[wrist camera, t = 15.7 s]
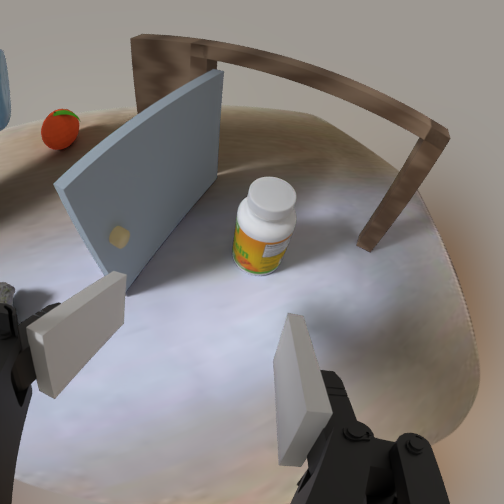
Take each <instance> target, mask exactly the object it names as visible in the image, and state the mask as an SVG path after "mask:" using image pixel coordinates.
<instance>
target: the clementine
mask: <svg viewBox="0 0 504 504" xmlns="http://www.w3.org/2000/svg"><path fill="white" fill-rule="evenodd" d="M78 120H79V121H80V119H79V118H78V116H76V115H75V114H74V113H73V112H72V111H70V110H68V109H58V110H55V111H53V112H52V113H50V114H49V115H48V116H47V118H46V119H45V120H44V122H43V125H42V128H41V135H42V140H43V142H44V143H45V144H46V145H47V146H48V147H49V148H51V149H54V150H60V149H64V148H66V147H68V146H70V145H71V144H72V143H73V142H74V140H75V139H76V137H77V135H78V132H79V121H78ZM80 122H81V121H80Z"/></svg>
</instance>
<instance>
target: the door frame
mask: <svg viewBox="0 0 504 504" xmlns="http://www.w3.org/2000/svg"><path fill="white" fill-rule="evenodd" d="M131 53H132V65H133V77H134V87H135V96H136V104H137V112H138V114H139V113H141V112H142V111H143V110H145V109H146V108H148V107H149V106H151V105H152V104H154V103H156V102H157V101H159V100H160V99H162V98H163V97H165V96H167V95H168V94H170V93H172V92H173V91H175V90H176V89H178V88H180V87H182V86H183V85H185V84H187V83H188V82H190V81H192V80H194V79H196V78H197V77H199V76H201V75H203V74H205V73H207V72H209V71H211V70H212V69H216V70H217V61H221V62H225V63H230V64H234V65H239V66H243V67H247V68H251V69H255V70H258V71H262V72H266V73H269V74H272V75H276V76H279V77H282V78H286V79H289V80H292V81H295V82H298V83H301V84H304V85H307V86H310V87H312V88H315V89H318V90H320V91H323V92H326V93H328V94H331V95H334V96H336V97H339V98H341V99H343V100H346V101H348V102H350V103H353V104H355V105H357V106H359V107H362V108H364V109H366V110H368V111H370V112H372V113H375V114H377V115H379V116H381V117H383V118H385V119H387V120H389V121H391V122H393V123H395V124H397V125H398V126H400V127H402V128H404V129H406V130H408V131H410V132H411V133H413V134H415V135H417V136H419V137H420V138H419V139H418V141H417V143H416V145H415V146H414V148H413V150H412V152H411V153H410V155H409V157H408V159H407V160H406V162H405V164H404V165H403V167H402V169H401V170H400V172H399V174H398V175H397V177H396V179H395V180H394V182H393V184H392V185H391V187H390V188H389V190H388V192H387V193H386V195H385V196H384V198H383V199H382V201H381V203H380V204H379V206H378V207H377V209H376V210H375V212H374V213H373V215H372V216H371V218H370V220H369V221H368V223H367V224H366V226H365V227H364V229H363V230H362V231H361V233H360V235H359V238H358V242H357V246H359V247H361V248H363V249H365V250H367V251H369V252H371V251H372V250H373V248H374V247H375V246H376V245H377V243H378V242H379V241H380V240H381V238H382V237H383V236H384V234H385V233H386V232H387V230H388V229H389V228H390V227H391V225H392V224H393V223H394V221H395V220H396V218H397V217H398V216H399V214H400V213H401V212H402V210H403V209H404V208H405V206H406V205H407V203H408V202H409V201H410V199H411V198H412V196H413V195H414V194H415V192H416V191H417V189H418V188H419V186H420V185H421V183H422V182H423V180H424V179H425V177H426V176H427V175H428V173H429V172H430V170H431V168H432V167H433V165H434V164H435V162H436V161H437V159H438V158H439V156H440V155H441V153H442V151H443V150H444V148H445V147H446V145H447V143H448V142H449V140H450V135H449V132H448V129H446V128H445V127H443V126H442V125H440V124H438V123H437V122H435V121H433V120H432V119H430V118H428V117H427V116H425V115H423V114H422V113H420V112H418V111H416V110H414V109H413V108H411V107H409V106H407V105H405V104H403V103H401V102H399V101H397V100H395V99H393V98H391V97H389V96H387V95H385V94H383V93H381V92H379V91H377V90H375V89H372V88H370V87H368V86H366V85H364V84H361V83H359V82H357V81H354V80H352V79H349V78H347V77H344V76H341V75H339V74H336V73H334V72H331V71H328V70H326V69H323V68H320V67H317V66H314V65H311V64H308V63H305V62H302V61H299V60H295V59H292V58H289V57H285V56H282V55H278V54H274V53H270V52H266V51H262V50H258V49H254V48H249V47H245V46H240V45H235V44H230V43H224V42H218V41H212V40H205V39H198V38H190V37H181V36H170V35H154V34H141V35H138V36H136V37H133V38H131Z"/></svg>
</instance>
